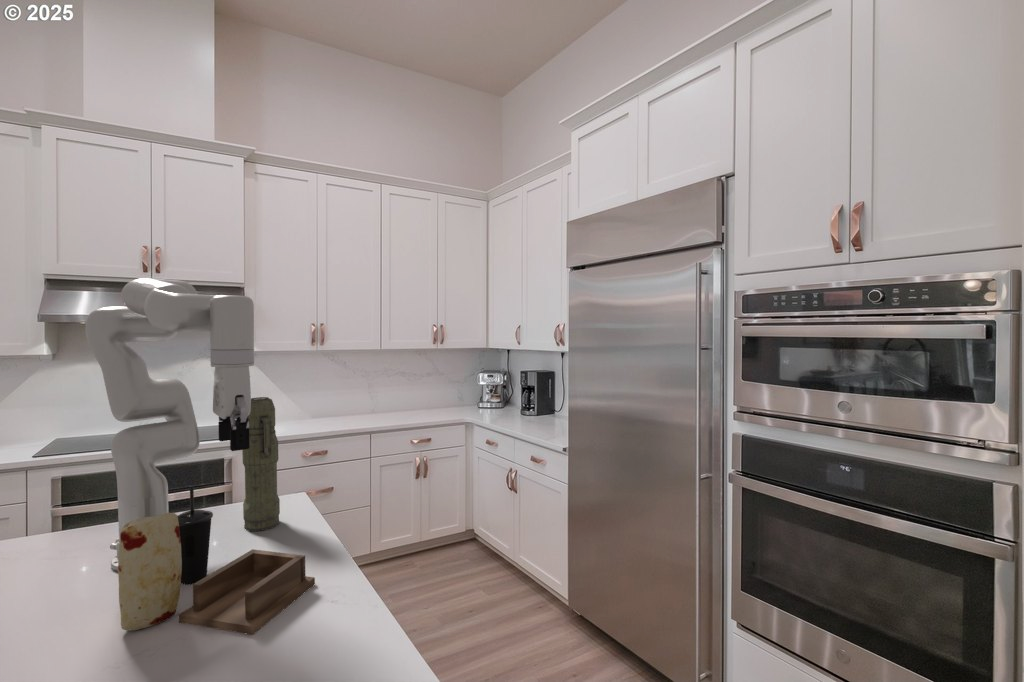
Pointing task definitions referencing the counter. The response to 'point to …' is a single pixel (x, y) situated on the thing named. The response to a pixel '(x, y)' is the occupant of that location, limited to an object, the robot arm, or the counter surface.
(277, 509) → the thermos
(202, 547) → the drinking cup
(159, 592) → the food model
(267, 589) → the dock
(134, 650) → the counter surface
